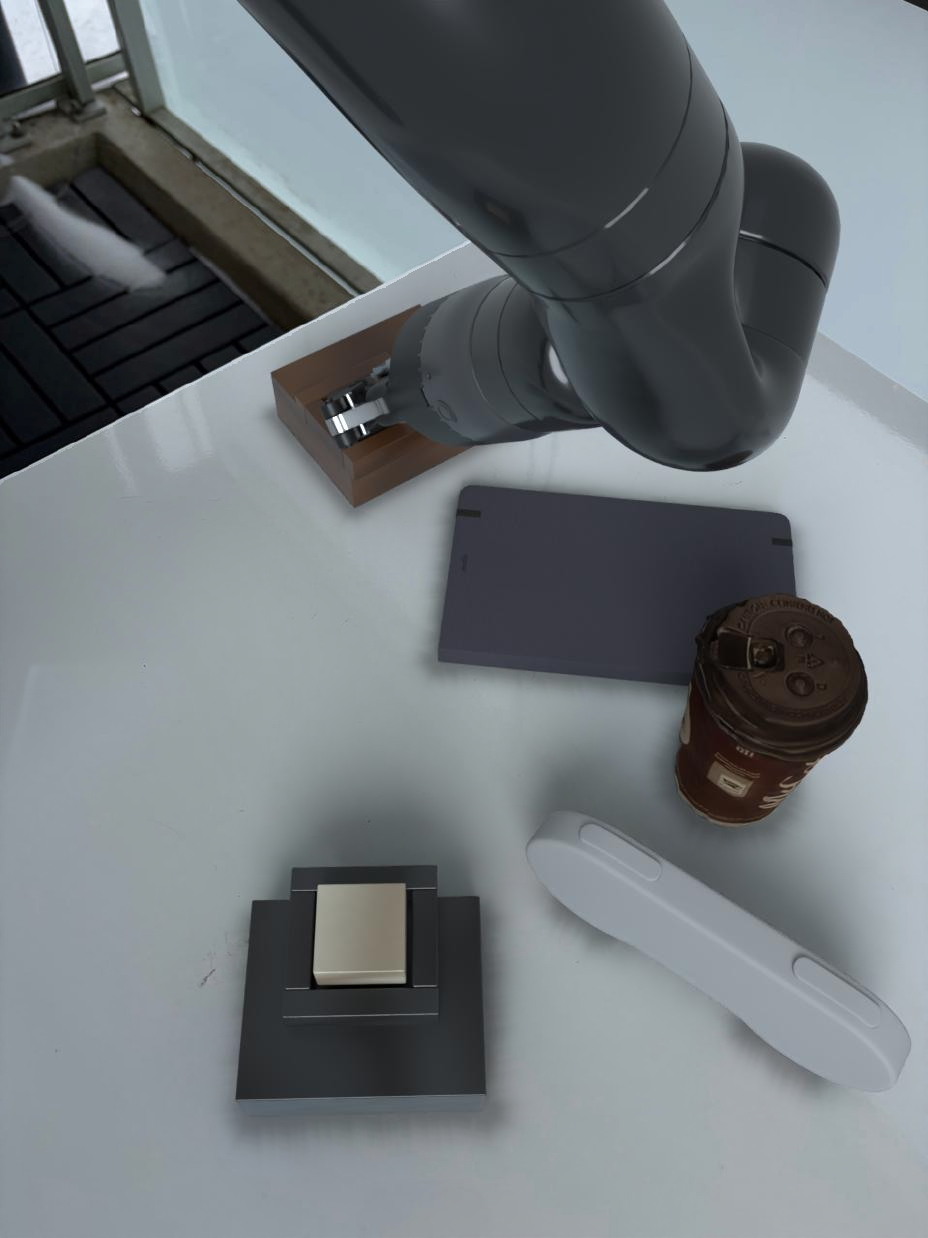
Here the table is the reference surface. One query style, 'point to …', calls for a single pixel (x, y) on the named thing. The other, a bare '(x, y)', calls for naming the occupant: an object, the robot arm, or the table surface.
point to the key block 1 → (365, 462)
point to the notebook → (600, 580)
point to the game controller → (721, 951)
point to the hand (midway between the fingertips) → (370, 394)
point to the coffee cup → (765, 705)
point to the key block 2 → (363, 1009)
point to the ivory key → (360, 934)
